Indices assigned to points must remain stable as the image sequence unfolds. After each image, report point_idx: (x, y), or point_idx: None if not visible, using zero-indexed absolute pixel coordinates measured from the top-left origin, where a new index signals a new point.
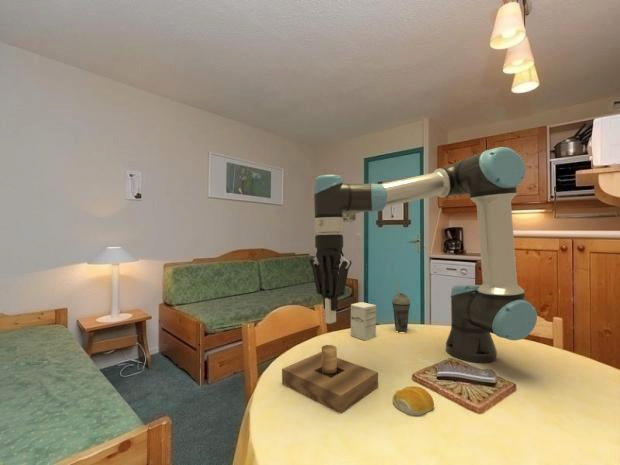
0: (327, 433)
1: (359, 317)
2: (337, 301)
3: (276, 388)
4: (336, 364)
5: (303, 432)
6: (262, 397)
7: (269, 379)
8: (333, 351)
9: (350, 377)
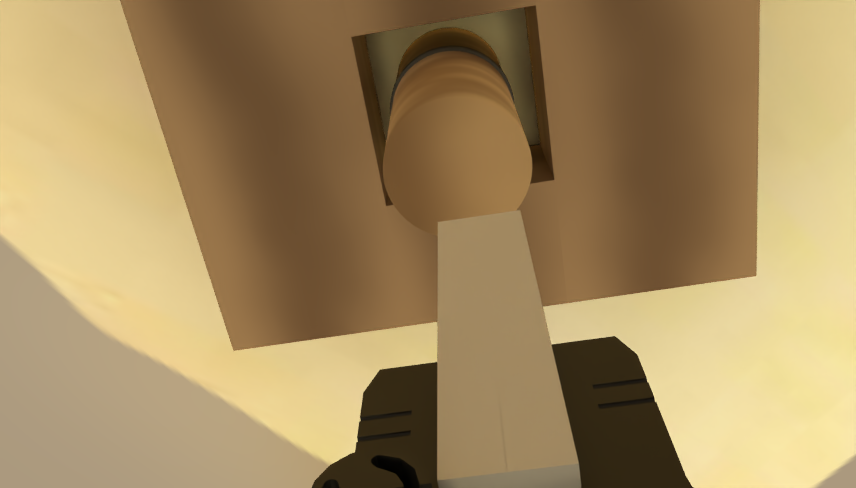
0: (768, 367)
1: None
2: (670, 445)
3: (287, 347)
4: (505, 87)
5: (686, 432)
6: (330, 436)
7: (163, 328)
8: (528, 172)
9: (648, 61)
